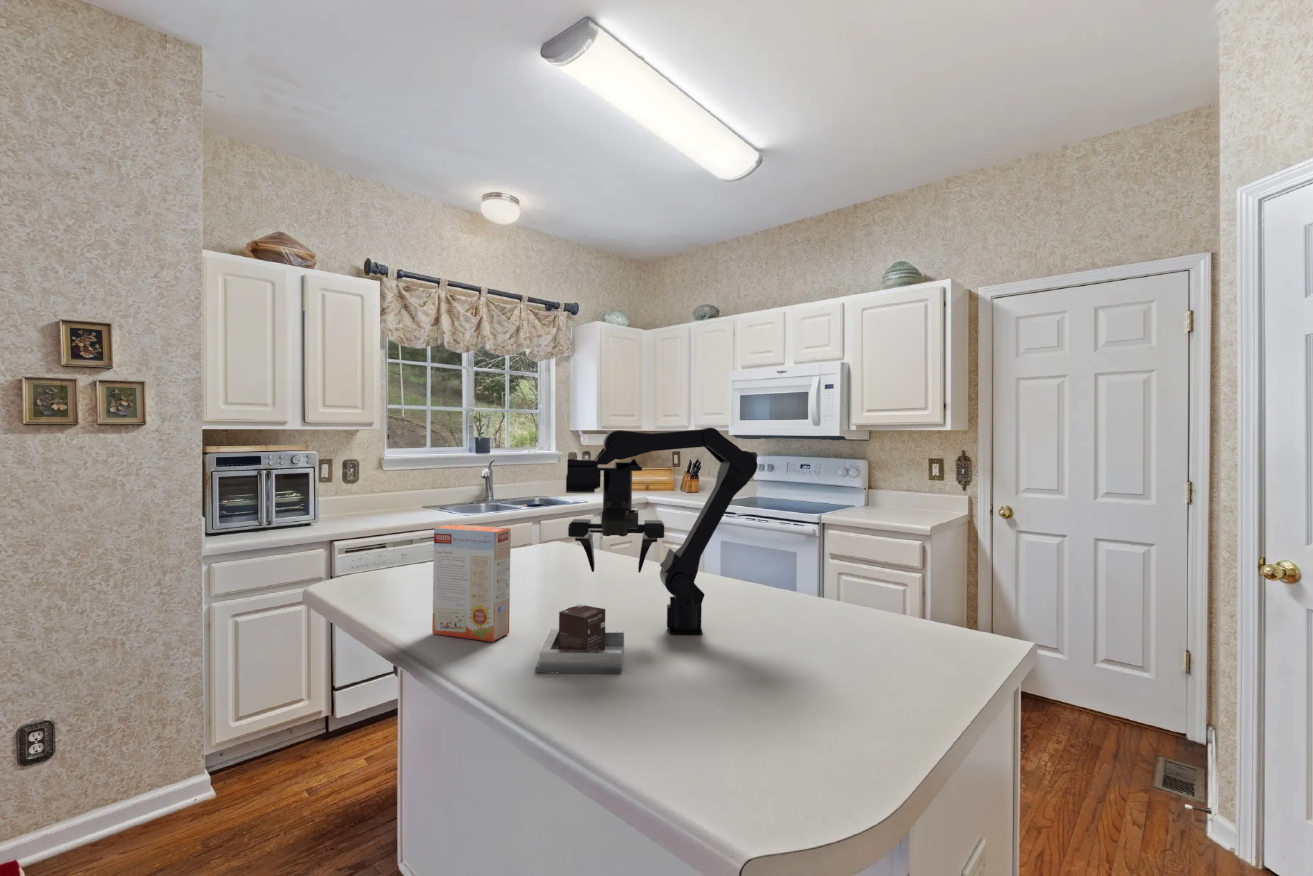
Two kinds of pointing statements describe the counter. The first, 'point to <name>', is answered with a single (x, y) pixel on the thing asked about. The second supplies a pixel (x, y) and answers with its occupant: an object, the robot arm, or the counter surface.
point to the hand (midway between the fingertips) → (616, 571)
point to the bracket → (582, 656)
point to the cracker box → (471, 582)
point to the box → (582, 628)
